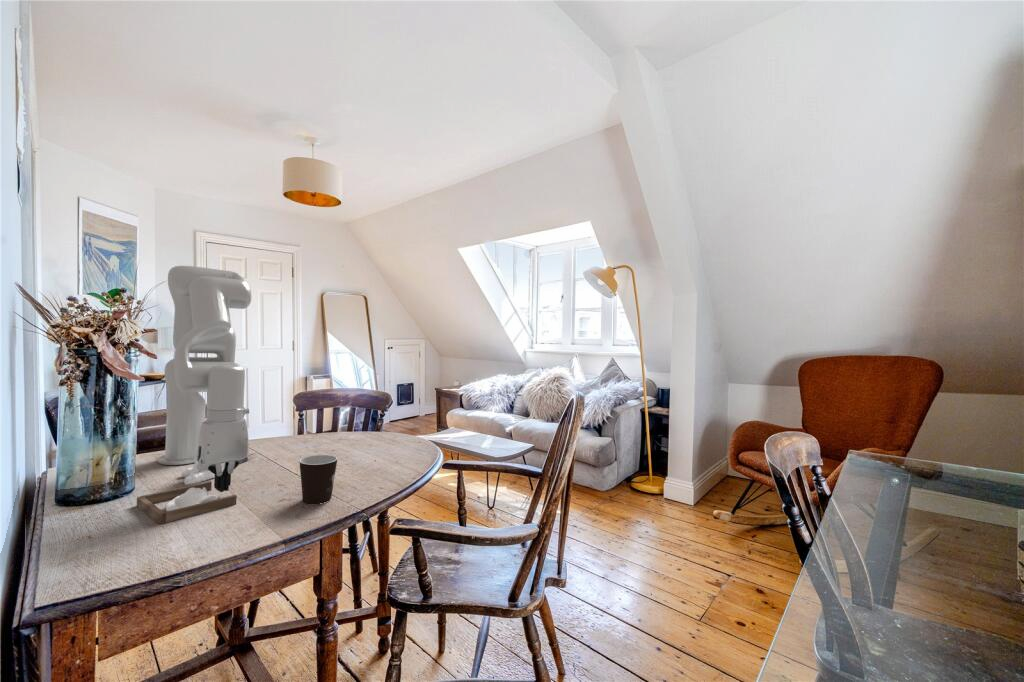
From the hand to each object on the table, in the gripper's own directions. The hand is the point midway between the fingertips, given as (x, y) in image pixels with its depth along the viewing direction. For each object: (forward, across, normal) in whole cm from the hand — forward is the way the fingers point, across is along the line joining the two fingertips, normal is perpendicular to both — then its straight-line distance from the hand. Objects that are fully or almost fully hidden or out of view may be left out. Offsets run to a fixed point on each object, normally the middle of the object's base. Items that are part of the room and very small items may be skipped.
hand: (222, 489), depth 105 cm
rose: (+2, +7, +2) cm, 7 cm away
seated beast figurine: (+2, -2, -18) cm, 18 cm away
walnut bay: (+2, +7, 0) cm, 7 cm away
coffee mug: (+2, -15, +18) cm, 24 cm away
